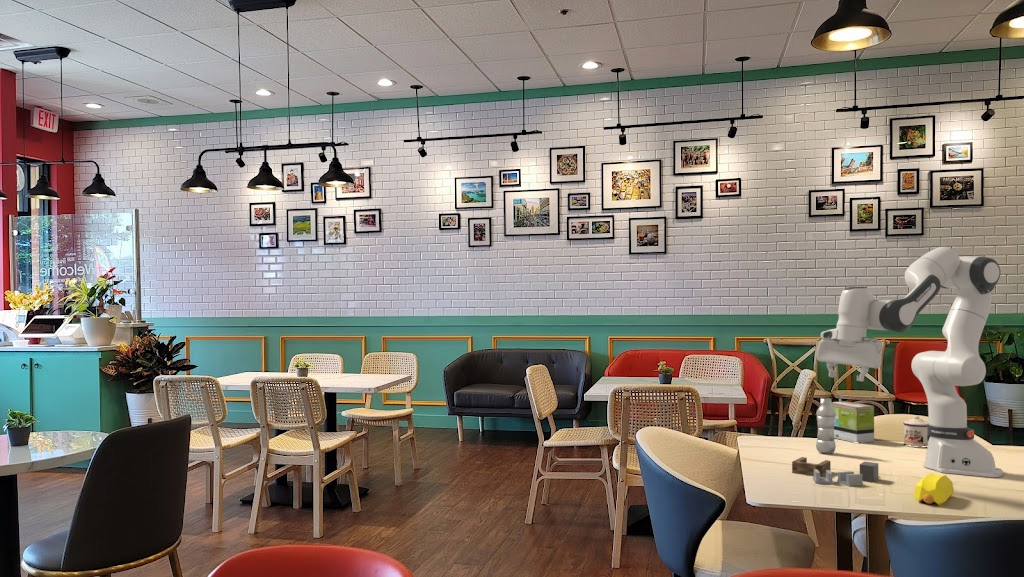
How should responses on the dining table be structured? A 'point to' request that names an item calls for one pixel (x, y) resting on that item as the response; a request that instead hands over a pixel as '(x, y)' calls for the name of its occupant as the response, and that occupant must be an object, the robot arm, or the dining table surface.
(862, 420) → the tea box
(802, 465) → the holder
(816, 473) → the clip
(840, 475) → the clip
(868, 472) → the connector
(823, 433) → the open metal bottle
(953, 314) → the robot arm
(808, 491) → the dining table surface
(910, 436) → the teacup with lid
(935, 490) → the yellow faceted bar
